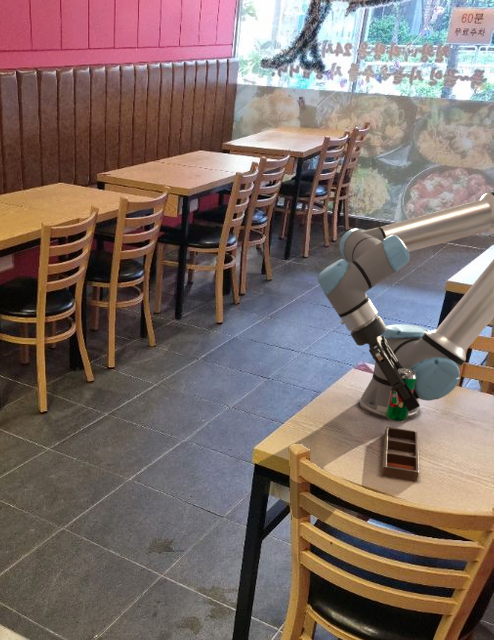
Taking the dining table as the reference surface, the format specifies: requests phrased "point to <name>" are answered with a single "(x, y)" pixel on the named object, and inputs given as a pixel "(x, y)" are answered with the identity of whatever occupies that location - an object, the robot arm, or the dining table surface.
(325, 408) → the dining table surface
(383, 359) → the robot arm
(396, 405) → the soda can
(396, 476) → the caddy
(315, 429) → the dining table surface
